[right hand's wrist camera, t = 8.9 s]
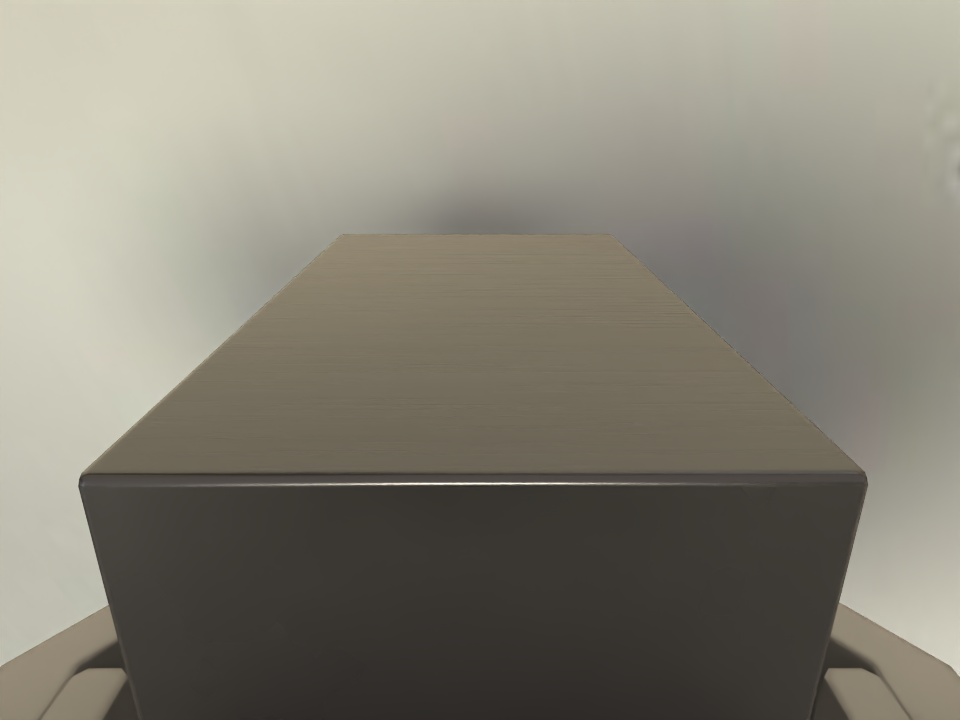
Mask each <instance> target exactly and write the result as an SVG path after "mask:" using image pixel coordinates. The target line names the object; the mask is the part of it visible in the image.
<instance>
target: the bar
mask: <svg viewBox="0 0 960 720" xmlns="http://www.w3.org/2000/svg"><path fill="white" fill-rule="evenodd" d="M78 487H79V491H80V494H81V498H82V502H83V506H84V510H85V514H86V518H87V522H88V526H89V529H90V533H91V537H92V541H93V545H94V549H95V553H96V557H97V561H98V564H99V568H100V572H101V576H102V580H103V584H104V588H105V592H106V596H107V599H108V603H109V607H110V611H111V615H112V619H113V623H114V627H115V631H116V634H117V638H118V642H119V646H120V650H121V654H122V658H123V662H124V666H125V669H126V673H127V677H128V681H129V685H130V689H131V693H132V697H133V701H134V704H135V708H136V712H137V716H138V720H810V716H811V712H812V708H813V704H814V700H815V696H816V692H817V688H818V684H819V680H820V676H821V672H822V668H823V664H824V660H825V656H826V652H827V648H828V644H829V640H830V636H831V632H832V628H833V624H834V620H835V616H836V612H837V608H838V604H839V600H840V596H841V592H842V587H843V583H844V579H845V575H846V571H847V567H848V563H849V559H850V555H851V551H852V547H853V543H854V539H855V535H856V531H857V527H858V523H859V519H860V515H861V511H862V507H863V503H864V499H865V495H866V491H867V487H868V482H867V477H866V474H865V472H864V471H863V470H862V469H861V468H860V467H859V466H858V465H857V464H856V463H855V462H853V461H852V460H851V459H850V458H849V457H848V456H847V455H846V454H845V453H844V452H843V451H842V450H841V449H840V448H839V447H837V446H836V445H835V444H834V443H833V442H832V441H831V440H830V439H829V438H828V437H827V436H826V435H825V434H824V433H823V432H821V431H820V430H819V429H818V428H817V427H816V426H815V425H814V424H813V423H812V422H811V421H810V420H809V419H808V418H807V417H805V416H804V415H803V414H802V413H801V412H800V411H799V410H798V409H797V408H796V407H795V406H794V405H793V404H792V403H791V402H789V401H788V400H787V399H786V398H785V397H784V396H783V395H782V394H781V393H780V392H779V391H778V390H777V389H776V388H775V387H773V386H772V385H771V384H770V383H769V382H768V381H767V380H766V379H765V378H764V377H763V376H762V375H761V374H760V373H759V372H757V371H756V370H755V369H754V368H753V367H752V366H751V365H750V364H749V363H748V362H747V361H746V360H745V359H744V358H743V357H742V356H740V355H739V354H738V353H737V352H736V351H735V350H734V349H733V348H732V347H731V346H730V345H729V344H728V343H727V342H726V341H724V340H723V339H722V338H721V337H720V336H719V335H718V334H717V333H716V332H715V331H714V330H713V329H712V328H711V327H710V326H708V325H707V324H706V323H705V322H704V321H703V320H702V319H701V318H700V317H699V316H698V315H697V314H696V313H695V312H694V311H692V310H691V309H690V308H689V307H688V306H687V305H686V304H685V303H684V302H683V301H682V300H681V299H680V298H679V297H678V296H676V295H675V294H674V293H673V292H672V291H671V290H670V289H669V288H668V287H667V286H666V285H665V284H664V283H663V282H662V281H660V280H659V279H658V278H657V277H656V276H655V275H654V274H653V273H652V272H651V271H650V270H649V269H648V268H647V267H646V266H644V265H643V264H642V263H641V262H640V261H639V260H638V259H637V258H636V257H635V256H634V255H633V254H632V253H631V252H630V251H628V250H627V249H626V248H625V247H624V246H623V245H622V244H621V243H620V242H619V241H618V240H617V239H616V238H615V237H614V236H612V235H610V234H343V235H341V236H339V237H338V238H337V239H336V240H335V241H334V242H333V243H332V244H331V245H330V246H329V247H327V248H326V249H325V250H324V251H323V252H322V253H321V254H320V255H319V256H318V257H317V258H316V259H314V260H313V261H312V262H311V263H310V264H309V265H308V266H307V267H306V268H305V269H304V270H302V271H301V272H300V273H299V274H298V275H297V276H296V277H295V278H294V279H293V280H292V281H290V282H289V283H288V284H287V285H286V286H285V287H284V288H283V289H282V290H281V291H280V292H278V293H277V294H276V295H275V296H274V297H273V298H272V299H271V300H270V301H269V302H268V303H267V304H265V305H264V306H263V307H262V308H261V309H260V310H259V311H258V312H257V313H256V314H255V315H253V316H252V317H251V318H250V319H249V320H248V321H247V322H246V323H245V324H244V325H243V326H241V327H240V328H239V329H238V330H237V331H236V332H235V333H234V334H233V335H232V336H231V337H229V338H228V339H227V340H226V341H225V342H224V343H223V344H222V345H221V346H220V347H219V348H218V349H216V350H215V351H214V352H213V353H212V354H211V355H210V356H209V357H208V358H207V359H206V360H204V361H203V362H202V363H201V364H200V365H199V366H198V367H197V368H196V369H195V370H194V371H192V372H191V373H190V374H189V375H188V376H187V377H186V378H185V379H184V380H183V381H182V382H181V383H179V384H178V385H177V386H176V387H175V388H174V389H173V390H172V391H171V392H170V393H169V394H167V395H166V396H165V397H164V398H163V399H162V400H161V401H160V402H159V403H158V404H157V405H155V406H154V407H153V408H152V409H151V410H150V411H149V412H148V413H147V414H146V415H145V416H143V417H142V418H141V419H140V420H139V421H138V422H137V423H136V424H135V425H134V426H133V427H132V428H130V429H129V430H128V431H127V432H126V433H125V434H124V435H123V436H122V437H121V438H120V439H118V440H117V441H116V442H115V443H114V444H113V445H112V446H111V447H110V448H109V449H108V450H106V451H105V452H104V453H103V454H102V455H101V456H100V457H99V458H98V459H97V460H96V461H95V462H93V463H92V464H91V465H90V466H89V467H88V468H87V469H86V470H85V471H84V472H83V473H82V474H81V476H80V479H79V486H78Z"/></svg>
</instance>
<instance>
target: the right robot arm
mask: <svg viewBox="0 0 960 720" xmlns="http://www.w3.org/2000/svg"><path fill="white" fill-rule="evenodd" d="M0 720H138V716H137V712H136V708H135V704H134V701H133V697H132V693H131V689H130V685H129V681H128V677H127V673H126V669H125V666H124V662H123V658H122V654H121V650H120V646H119V642H118V638H117V634H116V631H115V627H114V623H113V619H112V615H111V611H110V607H109V605H108V606H106V607H104V608H103V609H101V610H99V611H97V612H96V613H94V614H92V615H90V616H89V617H87V618H85V619H83V620H82V621H80V622H78V623H76V624H74V625H73V626H71V627H69V628H67V629H66V630H64V631H62V632H60V633H59V634H57V635H55V636H53V637H52V638H50V639H48V640H46V641H44V642H43V643H41V644H39V645H37V646H36V647H34V648H32V649H30V650H29V651H27V652H25V653H23V654H22V655H20V656H18V657H16V658H14V659H13V660H11V661H9V662H7V663H6V664H4V665H2V666H1V668H0ZM810 720H960V677H959V676H958V675H957V673H956V672H955V671H954V670H953V669H952V667H951V666H949V665H947V664H946V663H944V662H942V661H940V660H939V659H937V658H935V657H933V656H932V655H930V654H928V653H926V652H925V651H923V650H921V649H919V648H918V647H916V646H914V645H912V644H911V643H909V642H907V641H905V640H904V639H902V638H900V637H899V636H897V635H895V634H893V633H892V632H890V631H888V630H886V629H885V628H883V627H881V626H879V625H878V624H876V623H874V622H872V621H871V620H869V619H867V618H865V617H864V616H862V615H860V614H858V613H857V612H855V611H853V610H851V609H850V608H848V607H846V606H845V605H843V604H841V603H839V604H838V608H837V612H836V616H835V620H834V624H833V628H832V632H831V636H830V640H829V644H828V648H827V652H826V656H825V660H824V664H823V668H822V672H821V676H820V680H819V684H818V688H817V692H816V696H815V700H814V704H813V708H812V712H811V716H810Z"/></svg>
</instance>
